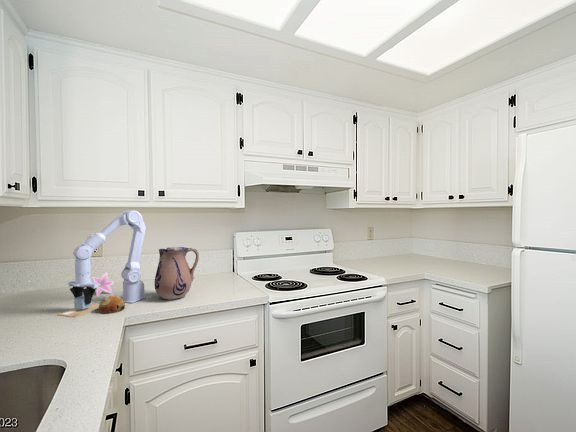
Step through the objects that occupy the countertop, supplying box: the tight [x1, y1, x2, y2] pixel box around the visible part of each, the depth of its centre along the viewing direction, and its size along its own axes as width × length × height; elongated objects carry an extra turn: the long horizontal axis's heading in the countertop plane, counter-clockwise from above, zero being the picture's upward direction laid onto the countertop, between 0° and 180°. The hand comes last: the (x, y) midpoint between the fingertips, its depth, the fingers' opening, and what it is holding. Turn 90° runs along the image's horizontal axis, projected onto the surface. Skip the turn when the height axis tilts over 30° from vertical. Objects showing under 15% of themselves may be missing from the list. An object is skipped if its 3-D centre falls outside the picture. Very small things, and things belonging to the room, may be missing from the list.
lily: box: [92, 272, 115, 297], centre depth 160 cm, size 12×12×10 cm
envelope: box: [56, 302, 100, 318], centre depth 133 cm, size 16×10×1 cm, turn 165°
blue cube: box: [73, 294, 93, 309], centre depth 133 cm, size 4×4×4 cm
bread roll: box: [98, 295, 126, 315], centre depth 134 cm, size 10×10×8 cm
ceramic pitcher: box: [153, 246, 200, 301], centre depth 153 cm, size 18×21×25 cm
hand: (83, 303), depth 133 cm, fingers closed on blue cube, 4 cm apart
